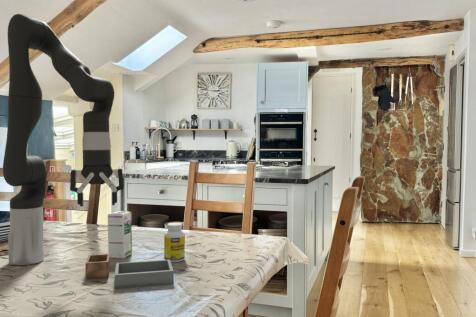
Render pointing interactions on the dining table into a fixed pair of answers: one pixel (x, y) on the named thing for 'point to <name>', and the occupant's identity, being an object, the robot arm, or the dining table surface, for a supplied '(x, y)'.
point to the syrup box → (119, 234)
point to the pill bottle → (174, 243)
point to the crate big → (143, 273)
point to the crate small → (98, 266)
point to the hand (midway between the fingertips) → (97, 205)
